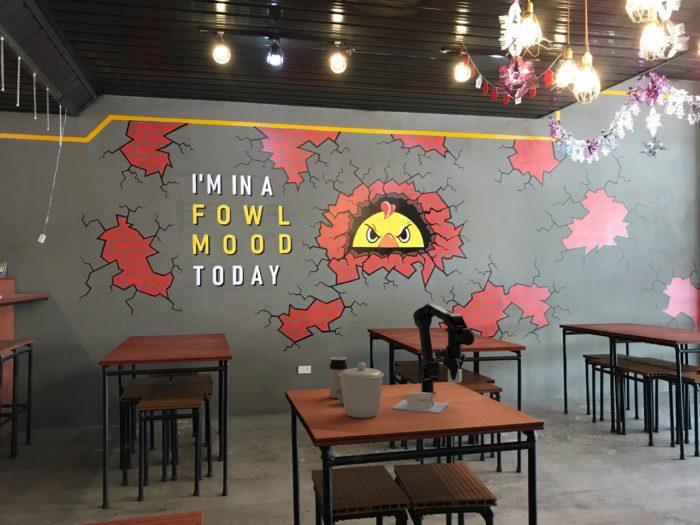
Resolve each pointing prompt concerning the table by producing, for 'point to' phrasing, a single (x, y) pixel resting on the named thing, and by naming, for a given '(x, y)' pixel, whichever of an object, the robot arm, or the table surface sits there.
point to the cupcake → (340, 395)
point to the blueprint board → (434, 409)
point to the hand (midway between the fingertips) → (454, 378)
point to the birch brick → (420, 399)
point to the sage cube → (458, 376)
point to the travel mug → (336, 374)
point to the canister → (361, 391)
